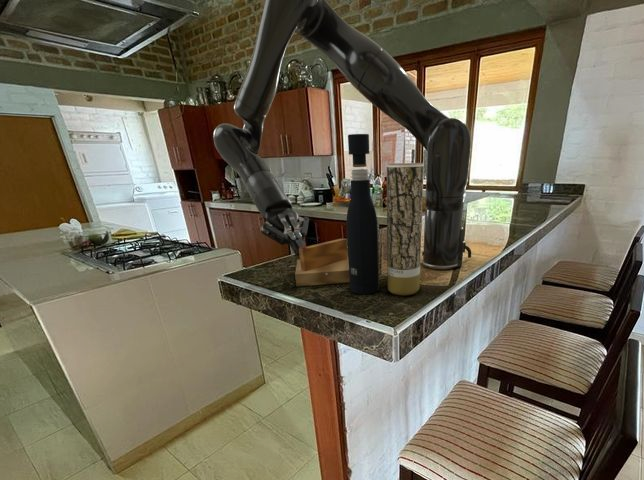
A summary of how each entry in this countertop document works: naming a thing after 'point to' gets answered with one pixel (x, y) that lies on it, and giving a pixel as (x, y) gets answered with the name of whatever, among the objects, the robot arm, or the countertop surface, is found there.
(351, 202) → the black water bottle
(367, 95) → the robot arm
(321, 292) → the countertop surface
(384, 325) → the countertop surface
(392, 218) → the paper tube
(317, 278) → the wooden box
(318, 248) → the tan wooden flat block
